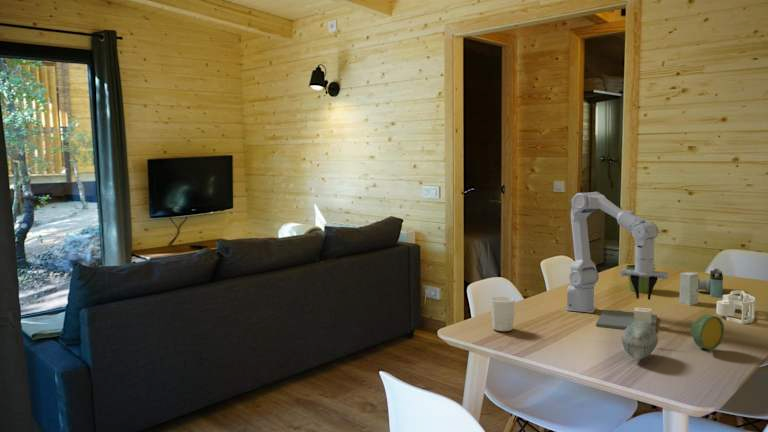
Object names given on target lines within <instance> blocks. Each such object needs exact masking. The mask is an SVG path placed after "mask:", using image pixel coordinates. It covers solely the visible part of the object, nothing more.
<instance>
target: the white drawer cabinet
mask: <svg viewBox="0 0 768 432" xmlns="http://www.w3.org/2000/svg"><path fill="white" fill-rule="evenodd" d="M633 312H634V322H635V321H645V322H648V323H649V324H650V325H651V322H652V313H653V308H646V307H638V306H637V307H634V310H633Z"/></svg>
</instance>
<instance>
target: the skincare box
mask: <svg viewBox="0 0 768 432" xmlns="http://www.w3.org/2000/svg"><path fill="white" fill-rule="evenodd" d="M698 279H699V273H697V272H691V271H687V272H681V273H679V301H678V303H679V304H680V305H685V306H689V307H690V306H691V307H692V306H694V305H696V304H698V303H699V289H698Z"/></svg>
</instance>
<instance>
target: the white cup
mask: <svg viewBox="0 0 768 432" xmlns="http://www.w3.org/2000/svg"><path fill="white" fill-rule="evenodd" d="M515 302H516V300H515V298H514V297H513V298H512V297H510V296H509V297H508V296H494V297H492V298H490V308H491V310H490V311H491V313H490V314H491V322H492V329H493V330H495V331H499V332H509V331H513V328H514V327H513V326H514V318H515V316H514V315H515Z"/></svg>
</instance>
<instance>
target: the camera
mask: <svg viewBox="0 0 768 432" xmlns="http://www.w3.org/2000/svg"><path fill="white" fill-rule="evenodd" d="M709 273H710V275H709V278H705V279H700V278H698V290H701V291H703V290H704V291H705V292H708V293H709V295H710V296H709V297H711V298H717V299H718V298H722V299H723V287H724V286H723V285H724V276H723V271H721V270H720V269H719V268H713V270H710V272H709Z"/></svg>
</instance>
